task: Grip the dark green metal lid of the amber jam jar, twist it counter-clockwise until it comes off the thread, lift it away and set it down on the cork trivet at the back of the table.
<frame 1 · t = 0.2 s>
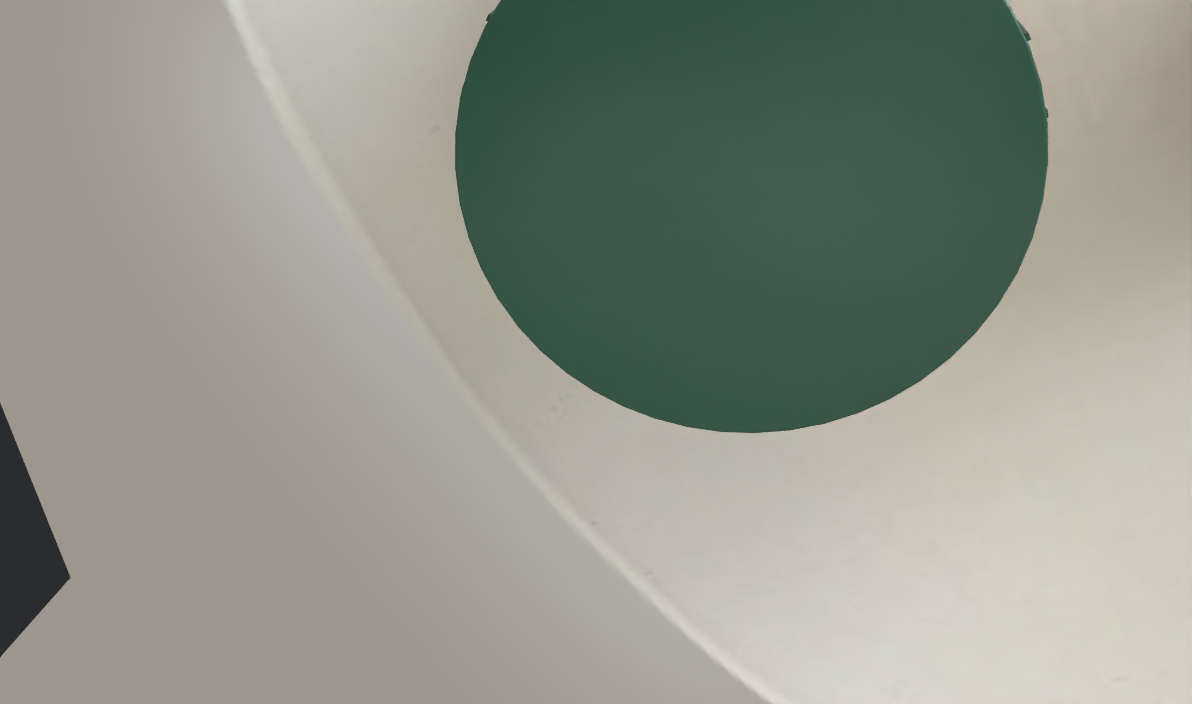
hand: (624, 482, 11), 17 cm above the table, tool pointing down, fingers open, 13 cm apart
jar lid: (738, 177, 15), point 11 cm above the table, screwed on, not yet turned
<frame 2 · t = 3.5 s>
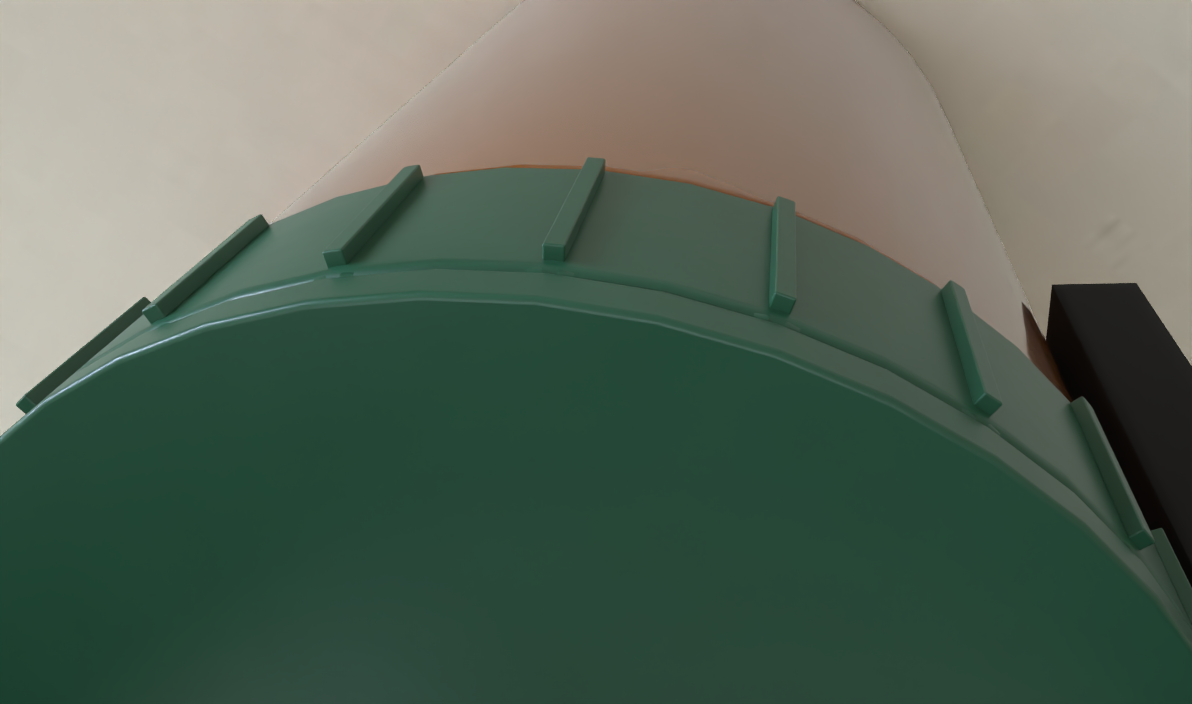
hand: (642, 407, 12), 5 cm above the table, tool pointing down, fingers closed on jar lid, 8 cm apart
jam jar: (682, 230, 16), on the table
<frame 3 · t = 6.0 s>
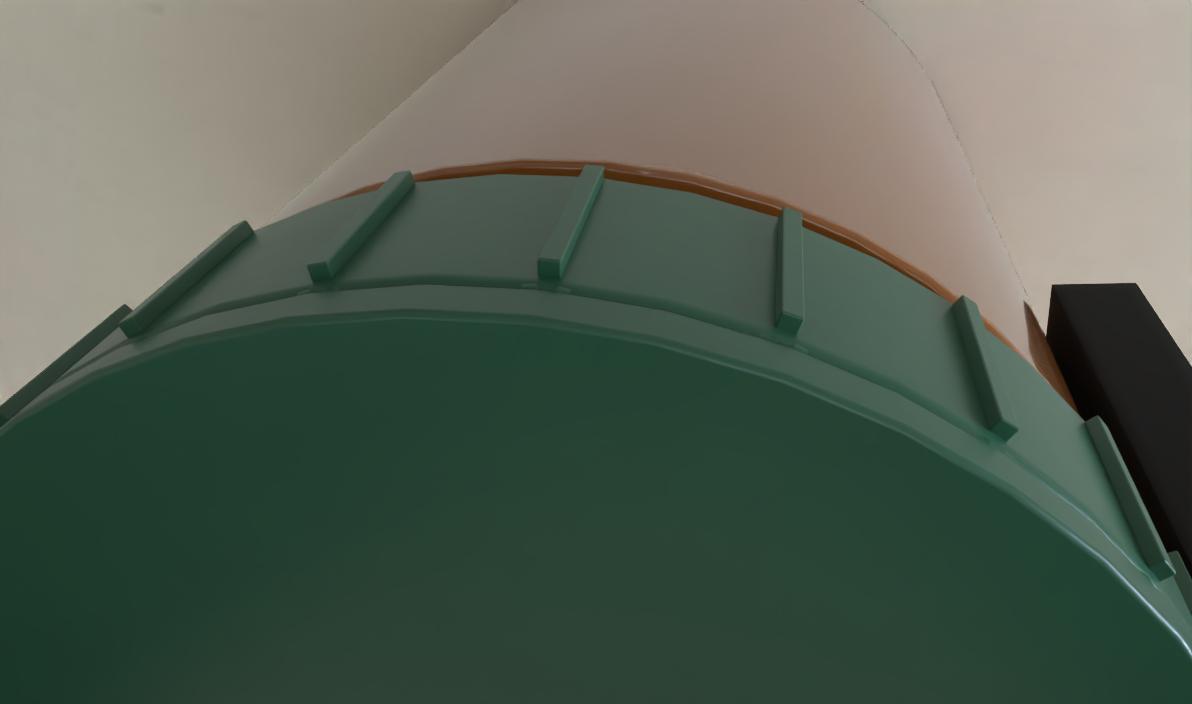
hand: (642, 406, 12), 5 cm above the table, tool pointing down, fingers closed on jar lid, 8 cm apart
jam jar: (683, 226, 16), on the table
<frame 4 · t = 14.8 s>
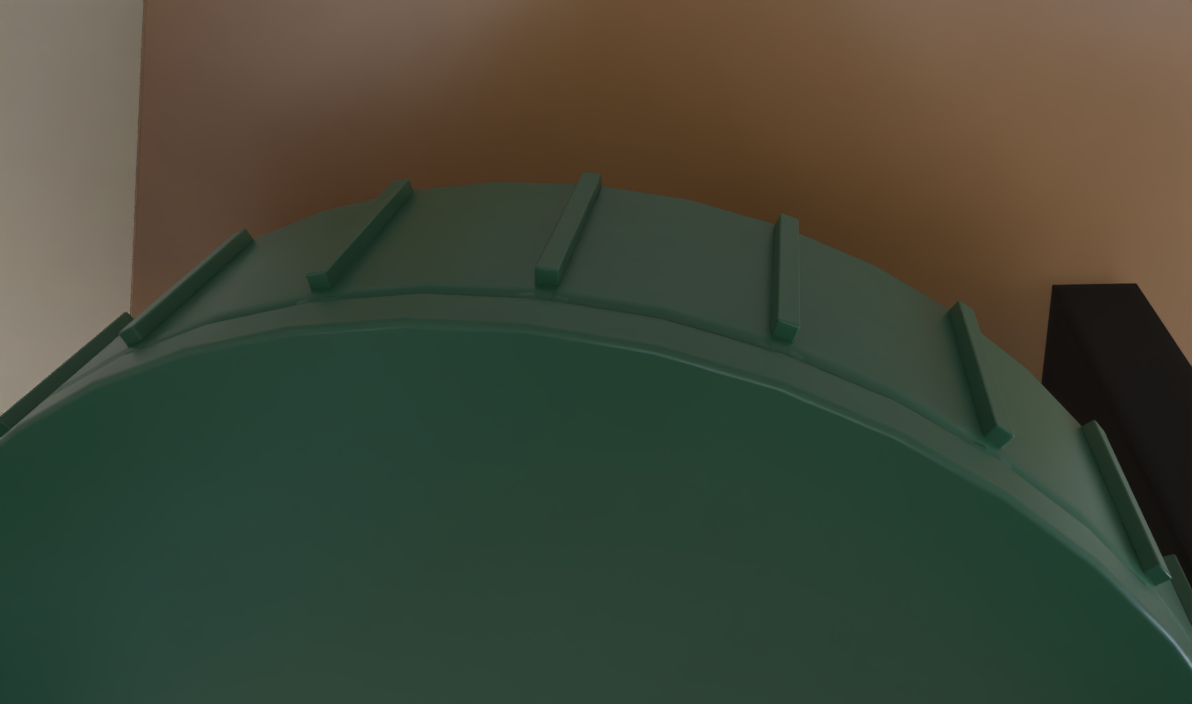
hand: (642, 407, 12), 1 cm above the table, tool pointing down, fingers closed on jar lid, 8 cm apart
trivet: (655, 352, 13), on the table
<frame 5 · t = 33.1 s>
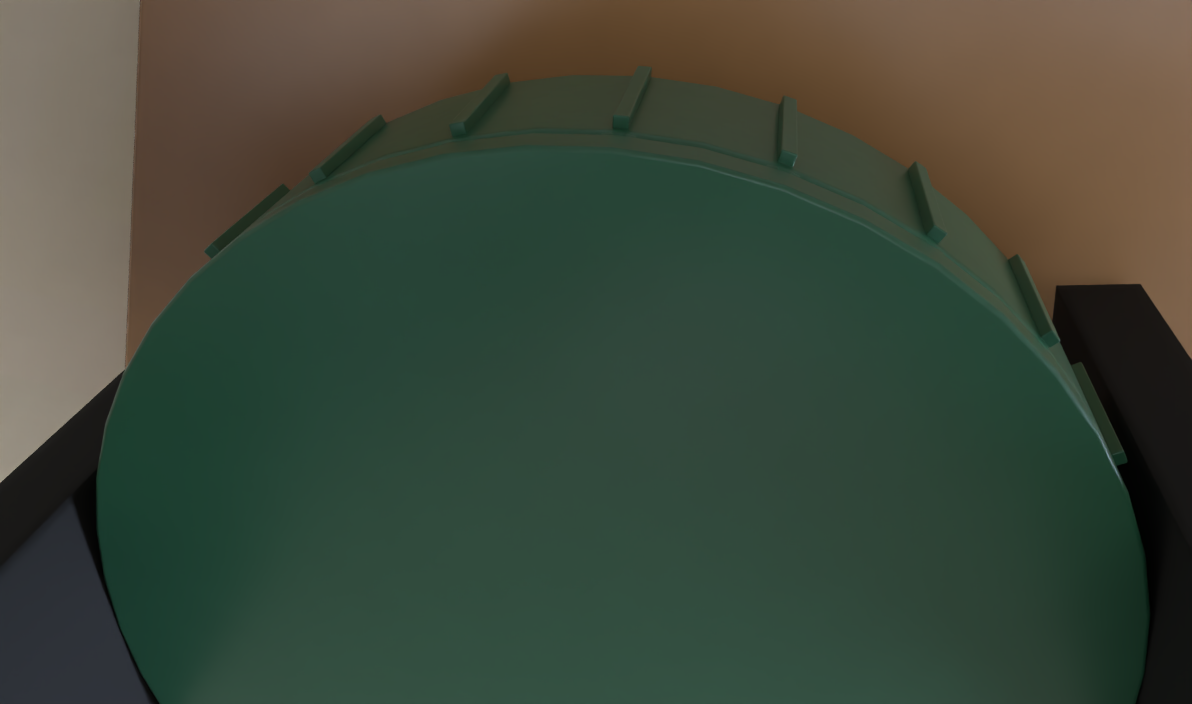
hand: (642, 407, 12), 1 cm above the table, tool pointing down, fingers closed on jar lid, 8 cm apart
trivet: (654, 351, 13), on the table
jar lid: (593, 623, 9), point 5 cm above the table, off its thread, touching gripper
when the fingers open (4 cm above the table, at t = 34.2 s): jar lid drops 5 cm, resting on trivet.
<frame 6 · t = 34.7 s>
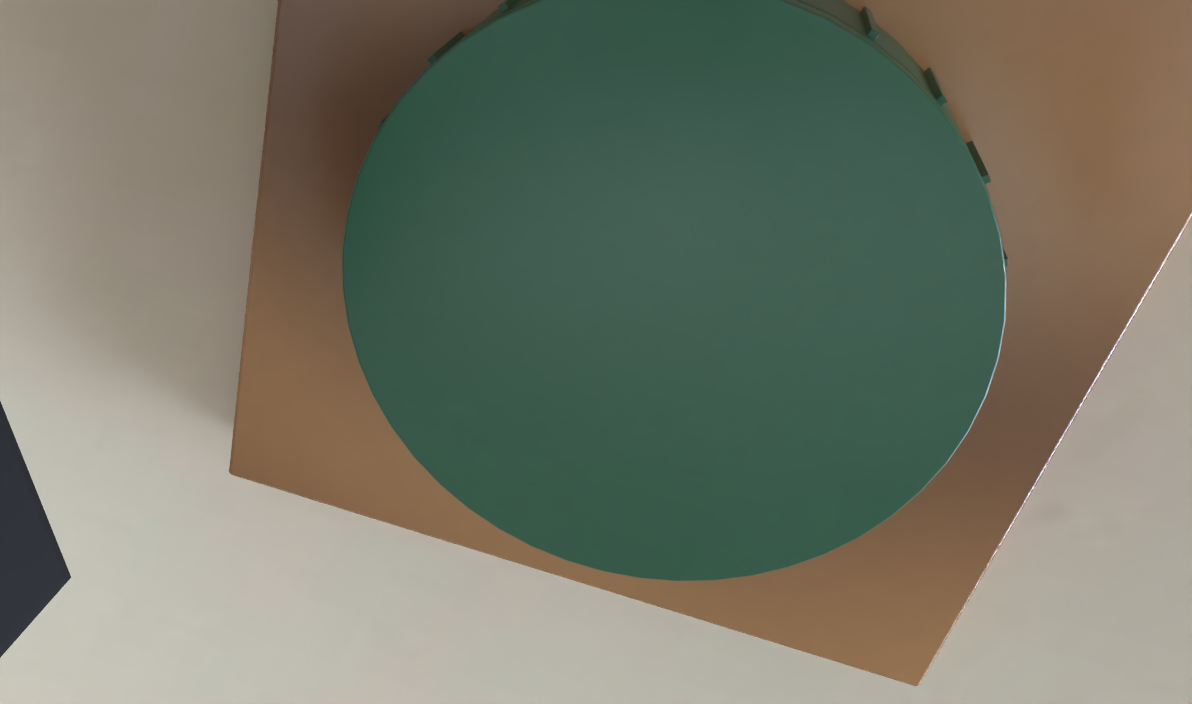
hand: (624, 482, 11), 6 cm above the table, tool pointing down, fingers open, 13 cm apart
trivet: (680, 238, 16), on the table
jar lid: (661, 312, 14), point 2 cm above the table, off its thread, touching trivet
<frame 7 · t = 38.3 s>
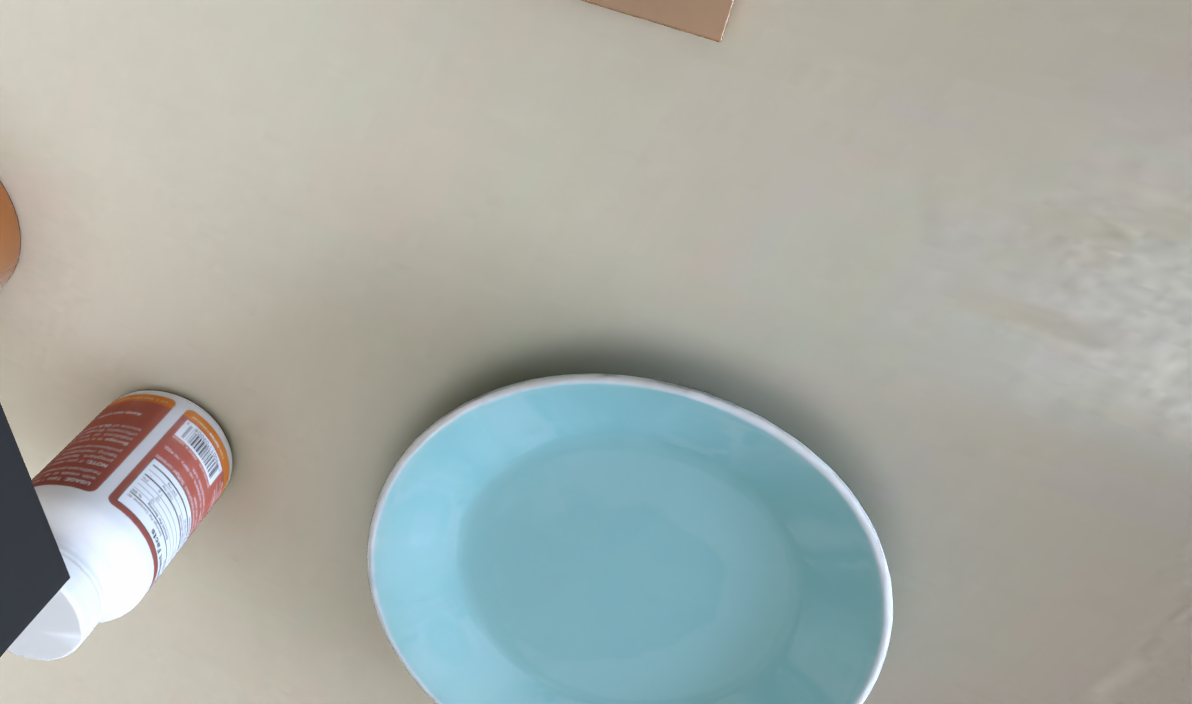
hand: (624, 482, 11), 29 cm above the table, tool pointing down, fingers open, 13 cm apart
plate: (628, 563, 48), on the table
pill bottle: (174, 441, 49), on the table
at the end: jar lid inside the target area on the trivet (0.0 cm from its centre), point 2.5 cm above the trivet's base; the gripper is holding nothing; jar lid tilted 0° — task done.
